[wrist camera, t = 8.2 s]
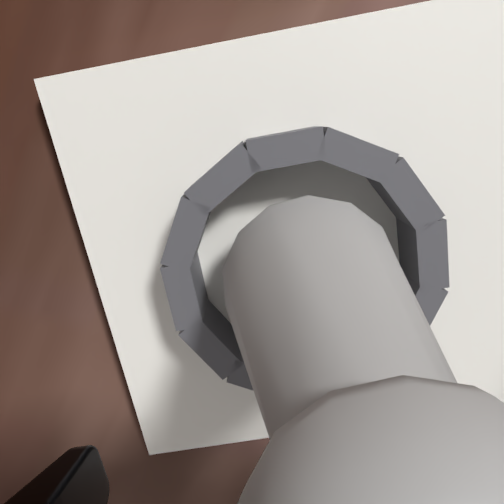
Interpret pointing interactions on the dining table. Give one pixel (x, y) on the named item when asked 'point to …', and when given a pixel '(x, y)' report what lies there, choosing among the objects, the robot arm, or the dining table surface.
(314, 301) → the salt shaker
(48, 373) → the dining table surface
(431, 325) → the ring holder
